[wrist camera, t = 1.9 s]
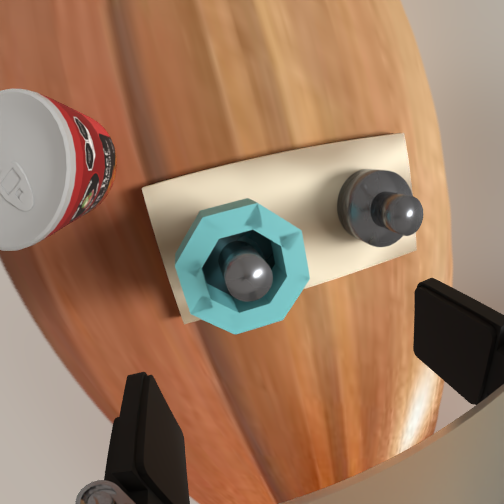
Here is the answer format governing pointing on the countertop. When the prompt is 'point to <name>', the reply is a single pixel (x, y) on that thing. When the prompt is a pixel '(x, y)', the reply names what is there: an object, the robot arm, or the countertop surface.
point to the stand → (241, 266)
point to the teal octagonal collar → (284, 271)
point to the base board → (284, 203)
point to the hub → (378, 207)
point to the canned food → (48, 167)
